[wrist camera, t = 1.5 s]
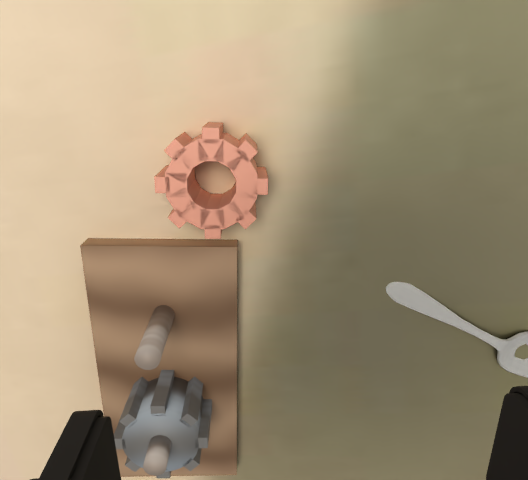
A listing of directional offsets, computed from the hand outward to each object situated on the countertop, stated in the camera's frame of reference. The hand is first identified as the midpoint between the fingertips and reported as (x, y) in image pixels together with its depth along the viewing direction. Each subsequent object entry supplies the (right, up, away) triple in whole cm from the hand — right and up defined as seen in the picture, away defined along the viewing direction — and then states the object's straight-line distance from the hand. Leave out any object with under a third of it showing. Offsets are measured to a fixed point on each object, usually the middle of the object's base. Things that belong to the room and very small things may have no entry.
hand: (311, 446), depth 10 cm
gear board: (-9, -5, +25) cm, 27 cm away
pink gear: (-4, +10, +19) cm, 22 cm away
